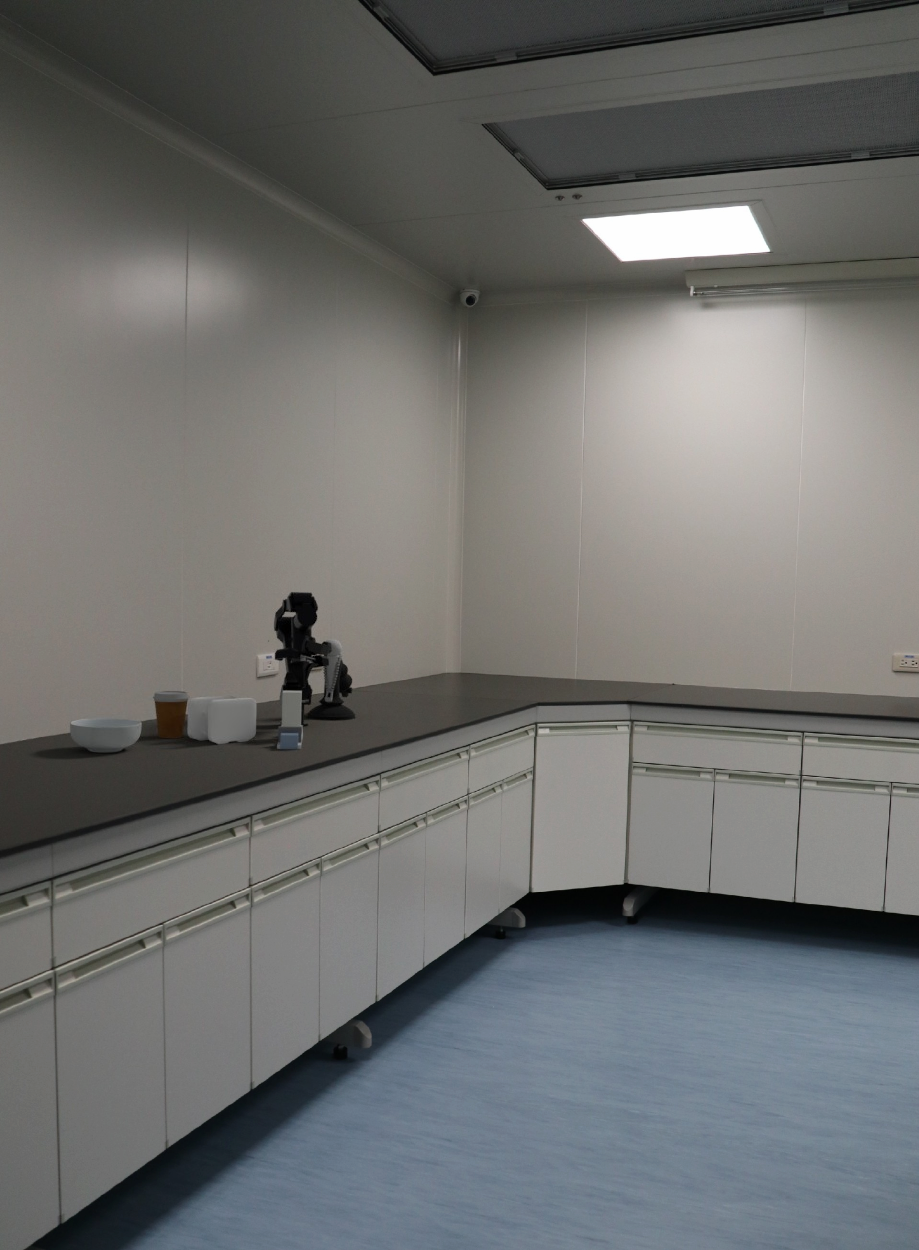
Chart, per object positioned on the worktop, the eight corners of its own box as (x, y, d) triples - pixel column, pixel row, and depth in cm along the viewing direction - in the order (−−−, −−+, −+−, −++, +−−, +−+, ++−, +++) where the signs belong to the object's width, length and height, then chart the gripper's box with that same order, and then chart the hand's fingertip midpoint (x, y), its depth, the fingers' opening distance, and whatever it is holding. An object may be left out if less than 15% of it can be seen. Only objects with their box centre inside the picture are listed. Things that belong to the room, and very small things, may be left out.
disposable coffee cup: (167, 740, 277) (167, 695, 276) (145, 736, 283) (145, 692, 282) (196, 736, 284) (196, 692, 284) (173, 733, 290) (174, 689, 290)
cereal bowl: (106, 758, 248) (107, 728, 247) (54, 751, 255) (54, 722, 254) (155, 748, 263) (156, 720, 263) (105, 742, 270) (105, 715, 270)
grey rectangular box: (282, 733, 287) (283, 690, 286) (300, 733, 287) (301, 690, 287) (281, 735, 282) (282, 692, 281) (300, 735, 282) (301, 692, 282)
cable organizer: (208, 746, 270) (208, 701, 269) (185, 741, 277) (186, 697, 276) (256, 740, 280) (257, 697, 280) (233, 736, 288) (234, 694, 287)
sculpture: (300, 719, 327) (302, 639, 326) (323, 710, 350) (324, 636, 349) (347, 721, 324) (349, 641, 323) (367, 712, 348) (369, 637, 347)
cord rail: (281, 735, 291) (281, 717, 291) (302, 735, 292) (303, 717, 292) (277, 749, 267) (277, 729, 267) (300, 749, 268) (301, 729, 268)
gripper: (305, 624, 291) (306, 679, 287) (343, 635, 307) (344, 687, 303) (273, 630, 295) (274, 685, 292) (312, 641, 312) (313, 692, 308)
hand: (303, 687), depth 299 cm, fingers closed
